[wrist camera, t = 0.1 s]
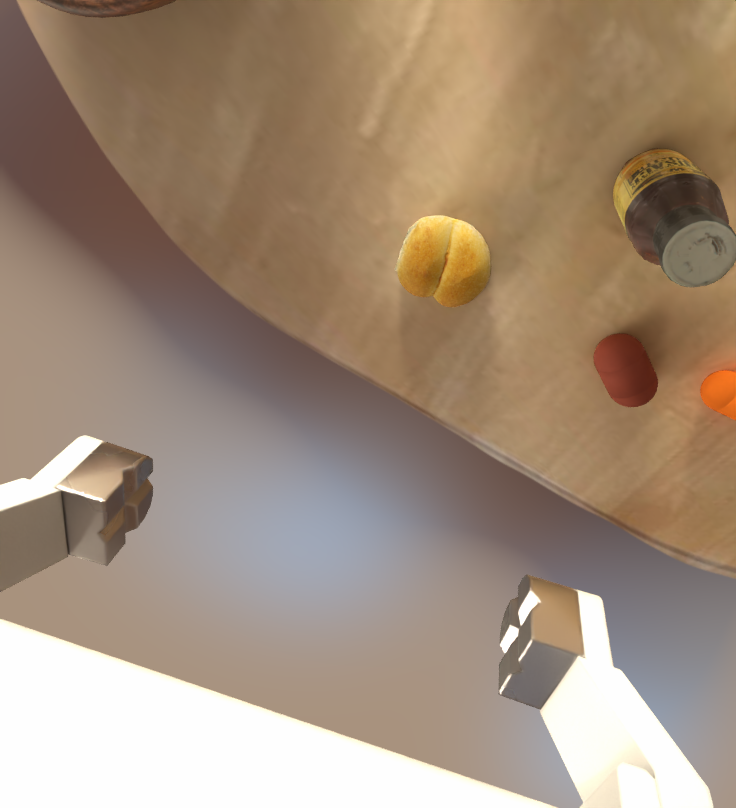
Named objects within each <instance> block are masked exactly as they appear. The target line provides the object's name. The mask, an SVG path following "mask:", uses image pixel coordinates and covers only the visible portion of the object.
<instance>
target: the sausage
mask: <svg viewBox="0 0 736 808" xmlns="http://www.w3.org/2000/svg"><path fill="white" fill-rule="evenodd" d="M594 364H595V367H596V369H597V371H598V373H599V375H600V377H601V379H602V381H603V383H604V385H605V387H606V389H607V391H608V393H609V395H610V396H611V398H612V399H613V400H614V401H615V402H617V403H618V404H620V405H623V406H626V407H638V406H641V405H644V404H646V403H647V402H649V401H650V400H651V399H652V398H653V397H654V395H655V393H656V391H657V387H658V379H657V376H656V373H655V371H654V369H653V367H652V364H651V362H650V360H649V358H648V356H647V353H646V351H645V349H644V347H643V345H642V344H641V342H640V341H639V340H638V339H636V338H635V337H633V336H631V335H628V334H622V333H618V334H613V335H610V336H608V337H606V338H604V339H603V340H602V341H601V342H600V343H599V344H598V346H597V347H596V350H595V352H594Z"/></svg>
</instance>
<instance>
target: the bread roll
mask: <svg viewBox="0 0 736 808" xmlns="http://www.w3.org/2000/svg"><path fill="white" fill-rule="evenodd" d="M395 270H396V272H397V274H398V277H399V280H400V283H401V284H402V286H403V287H404V288H405V289H406V290H407V291H408V292H410V293H411V294H413V295H415V296H419V297H429V296H434V298H435V299H436V300H437V301H438V302H439V303H440V304H442V305H443V306H447V307H457V306H460V305H464V304H466V303H468V302H470V301H472V300H473V299H474V298H475V297H476V296H477V295H478V294H479V293H480V292H481V291H482V290H483V289H484V288H485V286H486V284H487V283H488V280H489V277H490V273H491V260H490V252H489V248H488V246H487V244H486V242H485V240H484V238H483V237H482V235H481V234H480V233H479V232H478V231H477V230H476V229H475V228H474V227H473V226H472V225H470V224H468V223H467V222H465V221H462V220H457V219H453V218H450V217H447V216H429V217H424V218H421V219H419V220H418V221H417V222H416V223H415V224H413V226H411V227H410V228H409V230H408V233H407V235H406V237H405V240H404V242H403V246H402V249H401V250H400V254H399V259H398V261H397V264H396V267H395Z"/></svg>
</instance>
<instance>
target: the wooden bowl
mask: <svg viewBox="0 0 736 808" xmlns="http://www.w3.org/2000/svg"><path fill="white" fill-rule="evenodd" d="M37 1H39V2H41V3H44V4H46V5H48V6H50V7H53V8H55V9H58V10H61V11H64V12H67V13H70V14H75V15H80V16H85V17H99V18H104V17H119V16H126V15H131V14H136V13H141V12H145V11H149V10H153V9H156V8H159V7H161V6H164V5H167V4H170V3H172V2H174V1H176V0H37Z"/></svg>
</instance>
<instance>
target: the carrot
mask: <svg viewBox="0 0 736 808" xmlns="http://www.w3.org/2000/svg"><path fill="white" fill-rule="evenodd" d="M700 393H701V397H702V400H703V401H704V403H705V404H706V405H707V406H708V407H710V408H711V409H713V410H715V411H717V412H719V413H721V414H723V415H725V416H728V417H730V418H732V419H734V420H736V372H733V371H728V370H722V371H717V372H714V373H712V374H710V375H709V376H708V377H707V378H706V379H705V380H704V381H703V383H702V385H701V389H700Z"/></svg>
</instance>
